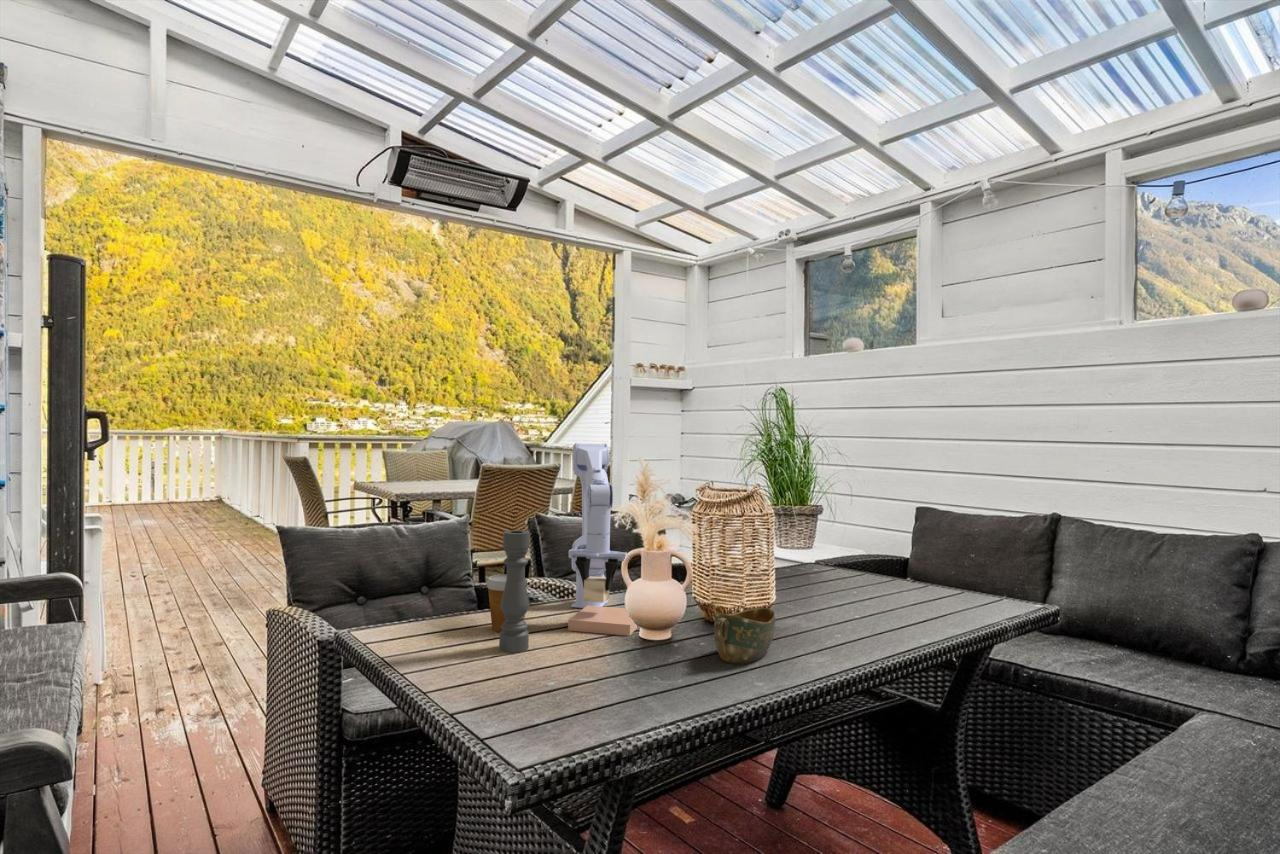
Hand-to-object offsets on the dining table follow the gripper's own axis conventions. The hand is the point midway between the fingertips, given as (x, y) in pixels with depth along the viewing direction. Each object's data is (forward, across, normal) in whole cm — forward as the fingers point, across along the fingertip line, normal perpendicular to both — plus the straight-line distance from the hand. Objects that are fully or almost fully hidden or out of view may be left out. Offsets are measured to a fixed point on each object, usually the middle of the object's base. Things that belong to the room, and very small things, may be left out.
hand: (597, 589), depth 179 cm
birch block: (+2, 0, 0) cm, 3 cm away
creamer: (+9, +37, -14) cm, 41 cm away
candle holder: (+9, -11, -25) cm, 29 cm away
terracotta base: (+8, +3, 0) cm, 9 cm away
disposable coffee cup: (+9, -19, -11) cm, 24 cm away
